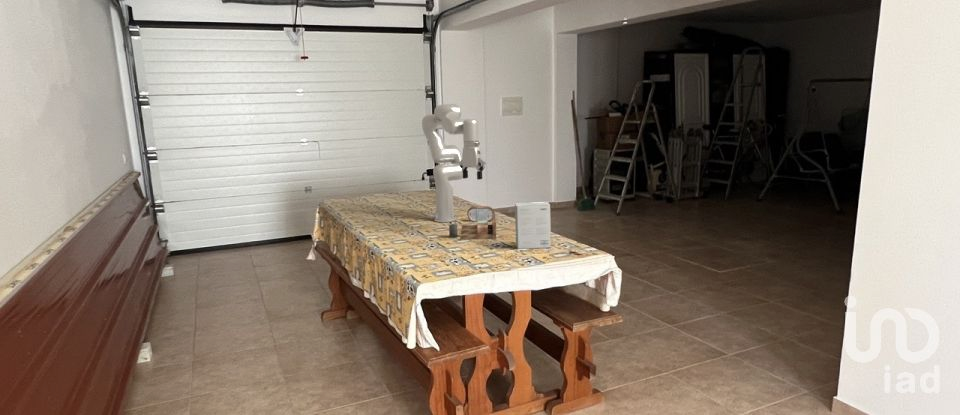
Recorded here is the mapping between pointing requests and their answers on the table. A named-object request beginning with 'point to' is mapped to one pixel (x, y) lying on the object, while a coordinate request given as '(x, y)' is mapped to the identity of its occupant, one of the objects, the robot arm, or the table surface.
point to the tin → (480, 213)
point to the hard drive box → (533, 225)
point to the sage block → (482, 222)
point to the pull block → (453, 234)
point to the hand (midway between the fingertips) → (472, 178)
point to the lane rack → (490, 231)
